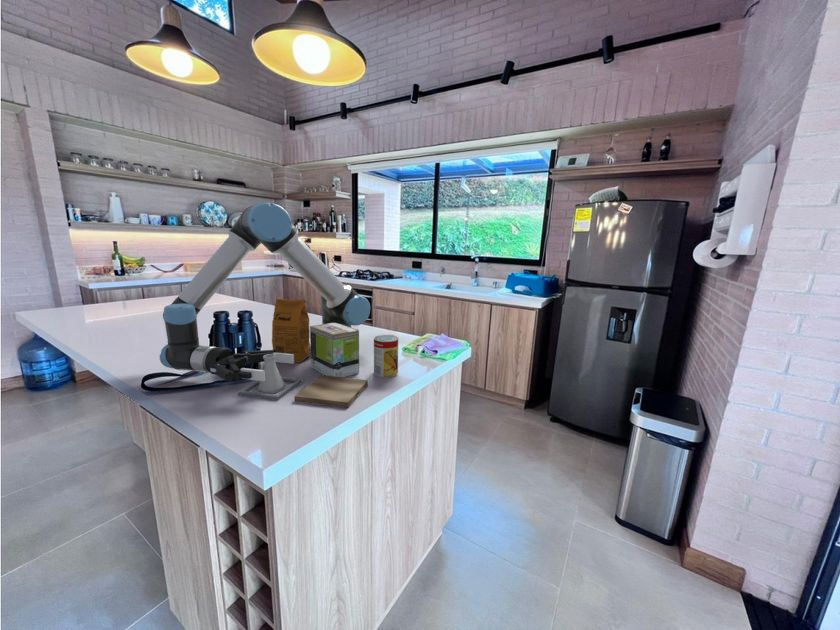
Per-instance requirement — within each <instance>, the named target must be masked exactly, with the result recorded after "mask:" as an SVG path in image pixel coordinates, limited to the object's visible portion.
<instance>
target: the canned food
mask: <svg viewBox="0 0 840 630" xmlns="http://www.w3.org/2000/svg"><path fill="white" fill-rule="evenodd" d="M397 373H398V374H399V337H398V336H396V335H394V334H393V335H392V334H381V335H380V334H378V335H376V336H374V337H373V375H374V376H376V377H378V378H383V377H388V378H392V377H391V376H393V377H395V375H396V374H397ZM398 374H397V375H398ZM397 375H396V376H397Z"/></svg>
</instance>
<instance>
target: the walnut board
mask: <svg viewBox="0 0 840 630" xmlns="http://www.w3.org/2000/svg"><path fill="white" fill-rule="evenodd" d="M368 384H369V380H368V379H359V378H351V377H334V376H326V375H324V374H322V375H321V374H320V375H319V376H318V377H317V378H316V379H314V380H313V381H312V382H311V383H310V384H308V385H307V386H306V387H304V388H302V390H300V391H299V392H298V393H297V394H295V395H294V402H296V403H305V404H311V405H320V406H330V407H336V408H337V407H338V408H347V409H348V408H350V407H351V405H352V404H353V403H354V402H355V401H356V400H357V398H358V397H359V396H360V395H359V394H361V393H362V392H363V391H364V390H365V389H366V388H367V386H368ZM365 387H366V388H365ZM364 388H365V389H364ZM363 389H364V390H363ZM358 395H359V396H358Z"/></svg>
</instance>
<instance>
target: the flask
mask: <svg viewBox="0 0 840 630" xmlns="http://www.w3.org/2000/svg"><path fill="white" fill-rule="evenodd" d="M275 357H276V355H275V354H267V355H264V356H263V359H264V362H263V363H264V365H263V370H265V381H260V383H259V385H258V386H257V390H256V392H257V393H266V394H276V393H278V392H281V391H283V390H284V389H285V387H286V382H284V381H283V379H282V376H281V374H280V372H279V370H278V368H277V367H278V366H277V364H276V363H277V362H275Z"/></svg>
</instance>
